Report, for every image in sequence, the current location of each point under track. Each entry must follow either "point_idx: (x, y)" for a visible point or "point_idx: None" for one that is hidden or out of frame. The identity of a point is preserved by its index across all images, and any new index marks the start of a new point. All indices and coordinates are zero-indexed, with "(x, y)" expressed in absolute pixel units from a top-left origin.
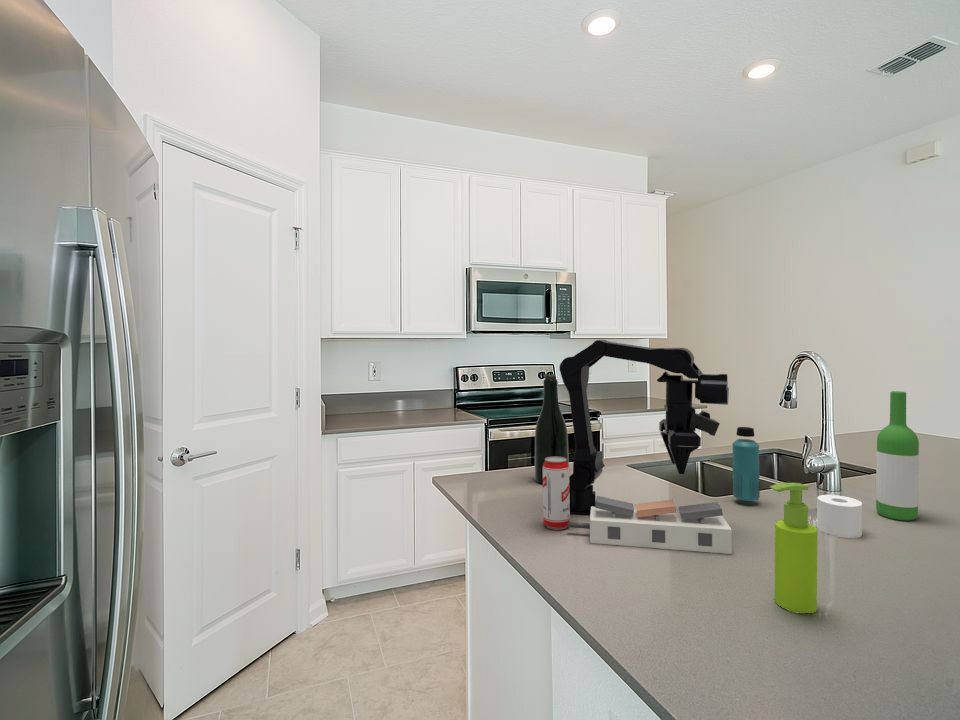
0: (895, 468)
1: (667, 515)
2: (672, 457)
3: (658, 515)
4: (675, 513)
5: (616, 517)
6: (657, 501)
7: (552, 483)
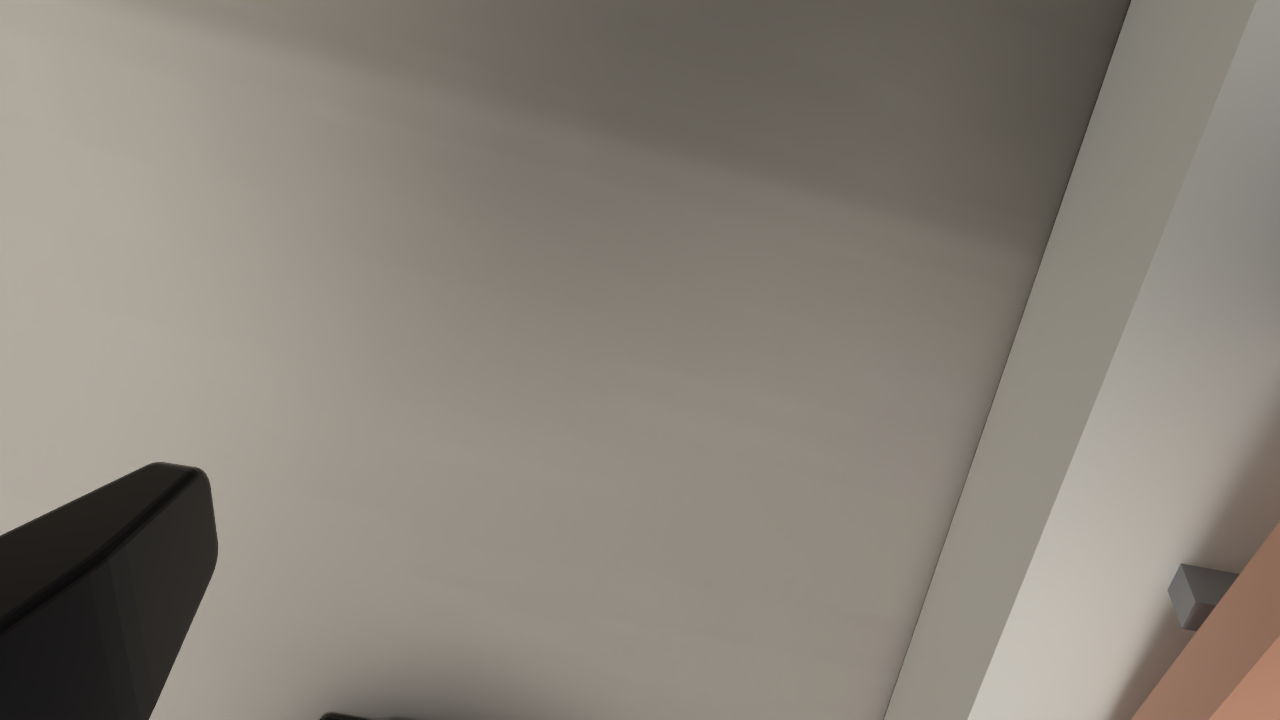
0: None
1: (1271, 467)
2: (133, 688)
3: (1247, 563)
4: (1205, 345)
5: None
6: (1240, 688)
7: None
